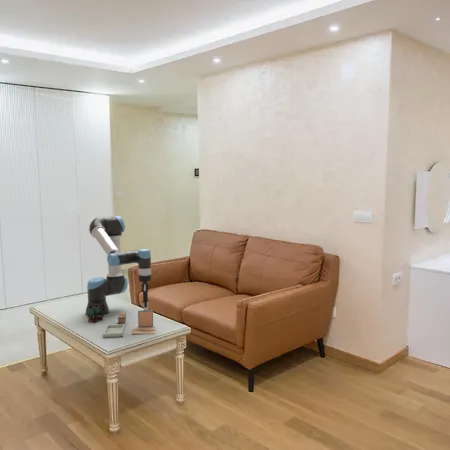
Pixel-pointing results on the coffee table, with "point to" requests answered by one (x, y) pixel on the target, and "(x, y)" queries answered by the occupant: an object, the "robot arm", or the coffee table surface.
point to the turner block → (122, 318)
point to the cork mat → (143, 330)
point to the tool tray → (114, 330)
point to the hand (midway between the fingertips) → (145, 311)
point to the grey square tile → (145, 318)
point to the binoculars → (94, 313)
